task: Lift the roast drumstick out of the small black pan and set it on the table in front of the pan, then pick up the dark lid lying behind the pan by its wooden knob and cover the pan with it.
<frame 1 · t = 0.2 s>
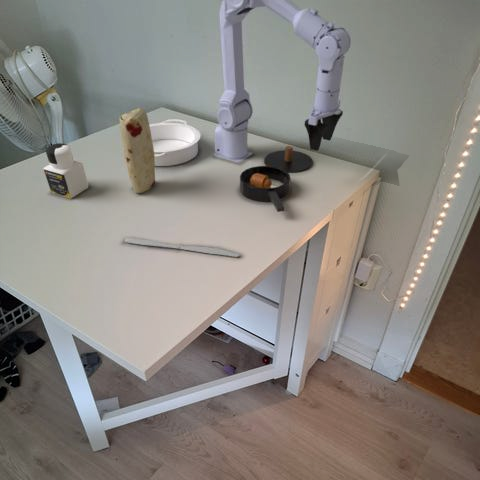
hand: (320, 144, 115), 10 cm above the table, tool pointing down, fingers open, 7 cm apart
butter knife: (181, 248, 99), on the table
pan lid: (288, 161, 129), point 1 cm above the table
medicine bottle: (70, 191, 118), on the table
pan: (264, 191, 118), on the table
food model: (144, 188, 119), on the table
pot: (165, 152, 136), on the table
drumstick: (266, 190, 117), resting on pan
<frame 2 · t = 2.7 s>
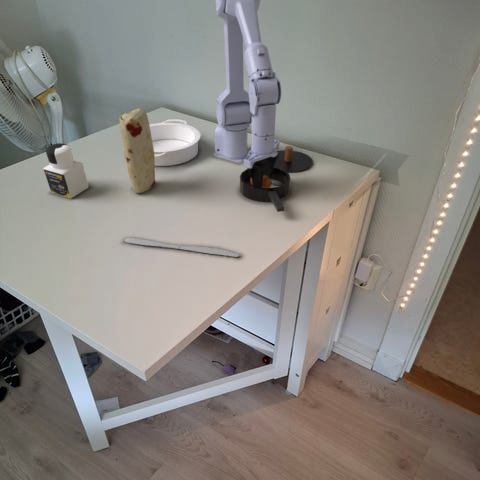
hand: (261, 183, 117), 2 cm above the table, tool pointing down, fingers closed on drumstick, 4 cm apart
drumstick: (266, 190, 117), resting on pan, touching gripper
everything else where it was.
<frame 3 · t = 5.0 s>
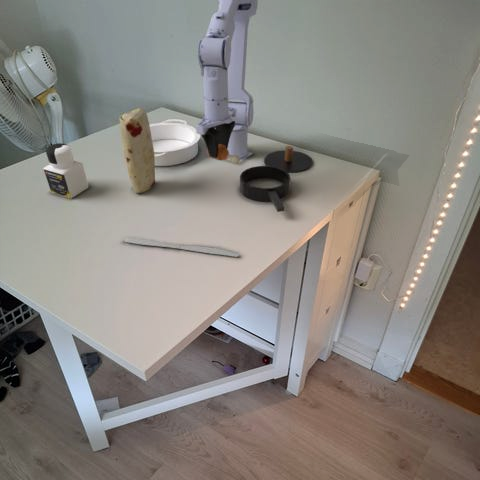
hand: (218, 153, 113), 9 cm above the table, tool pointing down, fingers closed on drumstick, 4 cm apart
drumstick: (223, 160, 113), point 8 cm above the table, touching gripper
everything else where it was.
when the fingers open (1 cm above the table, at t = 7.5 s): drumstick stays where it is, on the table.
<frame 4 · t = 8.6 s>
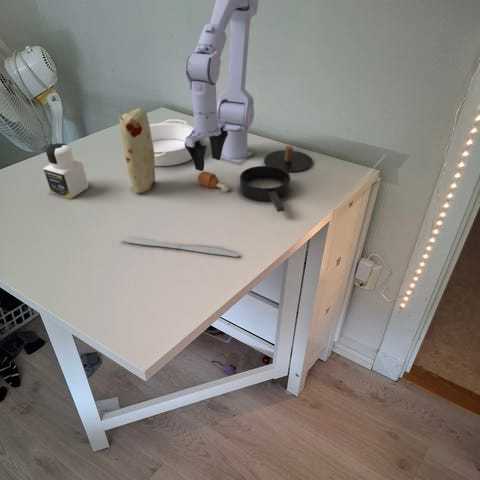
hand: (208, 164, 115), 6 cm above the table, tool pointing down, fingers open, 7 cm apart
drumstick: (213, 188, 119), on the table
everything else where it was.
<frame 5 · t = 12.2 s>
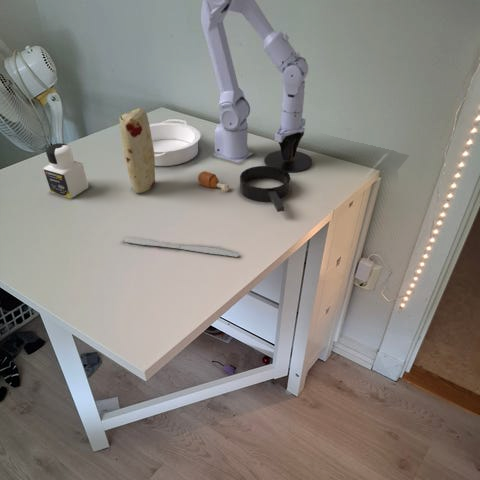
hand: (288, 158, 128), 2 cm above the table, tool pointing down, fingers closed on pan lid, 2 cm apart
pan lid: (288, 161, 129), point 1 cm above the table, touching gripper
everything else where it was.
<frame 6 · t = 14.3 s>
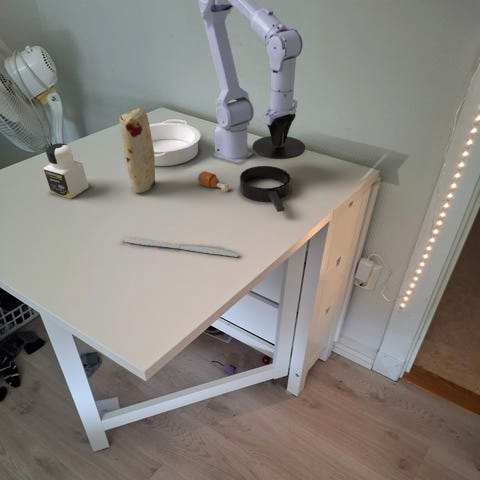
hand: (278, 143, 117), 9 cm above the table, tool pointing down, fingers closed on pan lid, 2 cm apart
pan lid: (278, 147, 118), point 8 cm above the table, touching gripper
everything else where it was.
when the fingers open (5 cm above the table, at t = 16.5 s): pan lid stays where it is, resting on pan.
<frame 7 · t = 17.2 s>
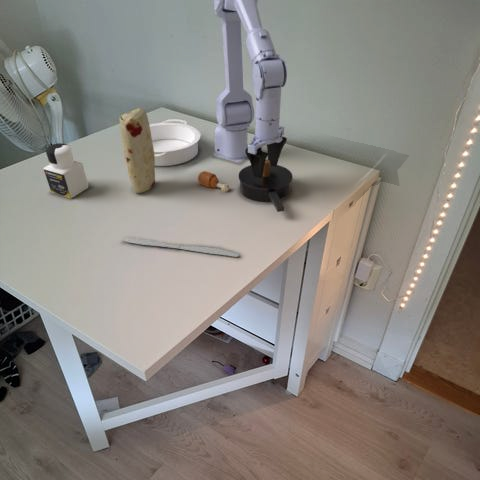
hand: (265, 171, 114), 6 cm above the table, tool pointing down, fingers open, 7 cm apart
pan lid: (265, 177, 115), point 4 cm above the table, touching pan
everything else where it was.
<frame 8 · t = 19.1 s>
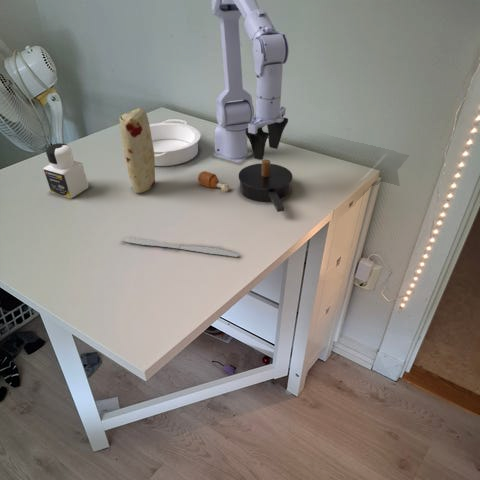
hand: (266, 153, 110), 10 cm above the table, tool pointing down, fingers open, 7 cm apart
nothing on the table moved.
at the end: drumstick inside the target area (0.0 cm from its centre), on the table; pan lid 0.1 cm off-centre on the pan, point 4.0 cm above the pan's base; pan lid tilted 0° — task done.
